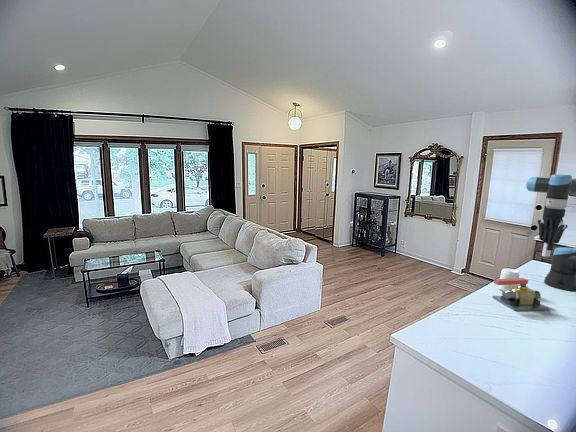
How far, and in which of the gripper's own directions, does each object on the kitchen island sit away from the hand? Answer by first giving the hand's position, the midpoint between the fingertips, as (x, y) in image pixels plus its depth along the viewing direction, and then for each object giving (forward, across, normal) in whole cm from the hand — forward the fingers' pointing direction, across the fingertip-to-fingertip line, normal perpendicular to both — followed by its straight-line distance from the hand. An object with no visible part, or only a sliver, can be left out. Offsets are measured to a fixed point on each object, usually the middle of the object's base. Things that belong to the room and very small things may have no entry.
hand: (545, 256), depth 144 cm
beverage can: (+27, -19, +1) cm, 33 cm away
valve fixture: (+26, -3, -6) cm, 27 cm away
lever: (+16, -2, -13) cm, 21 cm away
